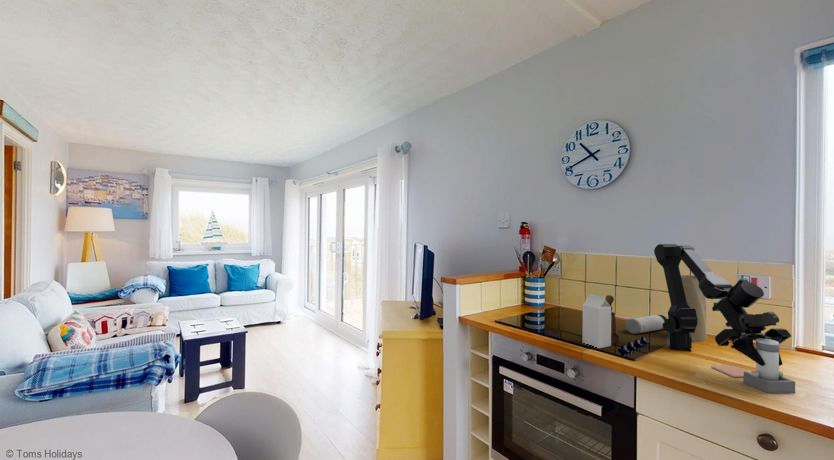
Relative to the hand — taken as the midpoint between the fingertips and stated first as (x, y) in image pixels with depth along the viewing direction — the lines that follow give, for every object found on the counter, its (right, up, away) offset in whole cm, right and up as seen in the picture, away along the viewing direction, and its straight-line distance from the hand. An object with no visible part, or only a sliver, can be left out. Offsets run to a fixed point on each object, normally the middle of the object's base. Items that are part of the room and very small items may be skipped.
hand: (772, 365), depth 102 cm
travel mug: (-8, -3, +53) cm, 53 cm away
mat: (0, -6, +11) cm, 13 cm away
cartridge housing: (0, -7, +1) cm, 7 cm away
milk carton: (-30, -7, +38) cm, 49 cm away
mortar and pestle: (-23, -6, +43) cm, 49 cm away
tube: (+13, -7, +47) cm, 49 cm away
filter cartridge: (0, -7, +1) cm, 7 cm away
